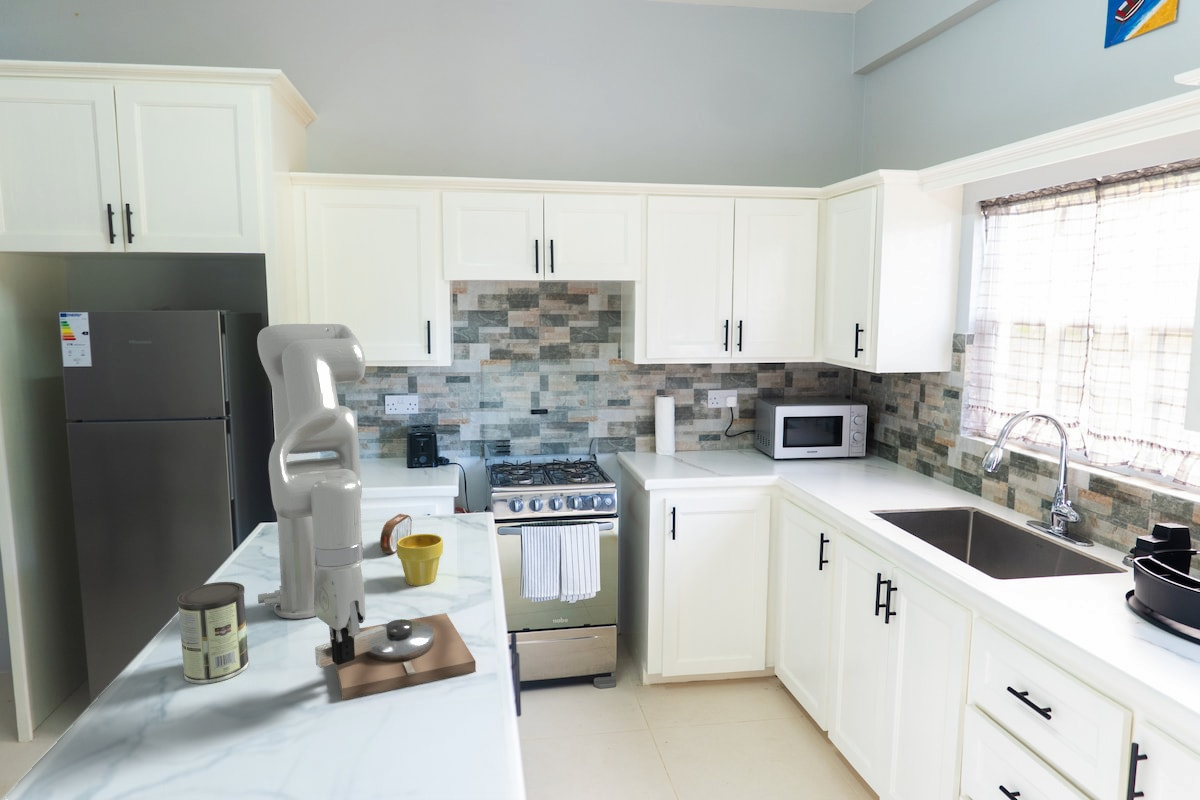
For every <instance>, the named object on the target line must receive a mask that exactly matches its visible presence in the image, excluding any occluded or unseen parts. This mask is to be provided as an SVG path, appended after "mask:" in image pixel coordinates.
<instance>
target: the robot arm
mask: <svg viewBox="0 0 1200 800" xmlns="http://www.w3.org/2000/svg"><path fill="white" fill-rule="evenodd" d="M256 340H257V341H256V343H257V344H256V345H257V351H258V352H257V353H258V356H259V358H260V361H261V365H262V366H263V369H264V371H265V373H266V375H267V377H268V379H269V382H270V385H271V389H272V397H273V412H274V413H273V415H274V429H275V430H274V431H275V440H274V442H273V444H272V446H271V450H270V452H269V456H268V457H269V458H268V475H269V476H268V477H269V485H270V493H271V494H270V495H271V500H272V505H273V508H274V511H275V513H276V519H277V521H276V522H277V535H278V536H277V537H278V552H279V553H278V555H279V568H280V570H279V571H280V572H279V573H280V585H279V588H278V590H274V592H270V593H269V592H268V593H267V592H266V593H258V594H257V604H259V605H260V604H264V607H266V606H272V605H274V607H273V610H274V613H275V615H276V616H278V617H280V618H283V619H293V620H294V619H307V618H312V617H316V618H318V619H319V620H320V621H321V622H324V624H326V625H327V626H328V628H329V637H330V636H331V638H334V639H331V645H332V661H333V662H334V665H335V664H337V665H340V664H343V663H346V662H349V661H352V660H354V659H355V648H354V638H355V635H358V634H360V629H359V628H360V624H363V623H364V622H365V620H366V595H365V588H364V587H365V585H364V580H363V579H364V578H363V573H362V572H363V571H362V565H361V563H362V562H363V561H364V558H363V557H364V555H363V552H364V550H363V534H362V533H363V530H362V514H361V513H362V511H361V499H362V495H363V494H362V492H363V491H362V482H361V481H362V480H361V479H362V477H361V460H360V458H361V457H360V446H359V445H360V443H359V442H360V441H359V430H358V422H357V419H356V416H355V413H354V412H353V410H352V409H351V408H350V407H348V406H345V405H339V404H340V403H339V397H338V391H337V387H336V384H345V383H348V384H349V383H357V382H360V381H361V380H362V379H363V378H364V376H365V374H366V373H365V372H366V365H367V364H366V356H365V353H364V352H365V351H364V350H363V347H362V345H361V343H360V340H359V339H358V338H357V337H356V335H355V334H354V333H353V332H352V330H351V329H350V328H349V327H348V326H347V325H344V324H340V323H286V324H285V323H283V324H282V323H281V324H274V325H269V326H265V327H264V328H262V329H261V330H260V331H259V333H258V335H257V339H256ZM323 452H333V453H335V454H336V456H329V457H319V458H318V457H317V458H305V459H298V460H297V459H295V460H290V461H287V459H288V455H289V454H290V455H299V454H312V453H314V454H315V453H323Z"/></svg>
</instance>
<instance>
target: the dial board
mask: <svg viewBox="0 0 1200 800" xmlns="http://www.w3.org/2000/svg"><path fill="white" fill-rule="evenodd" d="M408 620H409V621H417V622H422V623H425V624H427V625H429V626H431V627H432V629H433V634H434V644H433V646H432V648H431V649H430V650H429V651H427V652H426V653H424V654H422V655H420V656H418V657H415V658H412V659H408V660H403V661H392V662H389V661H379V660H375V659H372V658H370V657H369V656H368V655H367V654H366V652H365V653H362V654H359V655H356V656H355V659H354V660H352V661H349V662H346V663H343V664H340V665H337V664H335V663H334V666H335V670H336V675H337V680H338V681H337V682H338V685H339V688H340V694H341V698H342V699H341V700H342V701H345V700H350V699H355V698H359V697H363V696H364V697H365V696H369V695H373V694H378V693H381V692H386V691H391V690H396V689H401V688H406V687H411V686H415V685H420V684H424V683H430V682H433V681H439V680H443V679H446V678H447V679H448V678H452V677H457V676H460V675H461V676H463V675H466V674H470V673H476V672H477V671H476V670H477V667H476V664H477V663H476V659H475V658H474V656H473V655H472V653H471V652H470V650H469V648H468V646H467V645H466V643H465V642H464V640H463V638H462V636H461V635H460V633H459V632H458V630H457V629H456V627H455V626H454V624H453V622H452V621H451V619H450V618H449V616H448V614H447V613H446V612H444V613H439V614H434V615H427V616H422V617H417V618H416V617H415V618H410V619H408ZM388 623H389V622H388ZM388 623H386V624H388ZM384 624H385V623H384ZM384 624H377V625H372V626H371V625H370V626H366V627H359V629H360V632H363V631H366V630H369V629H372V628H375V627H378V626H381V625H384ZM329 639H330V642H331V639H334V638H331V636H330V635H329ZM330 642H329V643H330Z"/></svg>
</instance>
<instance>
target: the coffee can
mask: <svg viewBox="0 0 1200 800" xmlns="http://www.w3.org/2000/svg"><path fill="white" fill-rule="evenodd" d="M176 602H177V605H178V615H179V616H178V617H179V627H180V640H181V642H180V643H181V653H182V654H181V655H182V664H183V678H184V680H185V681H187V682H188V683H193V684H198V685H199V684H201V685H202V684H203V685H205V684H213V683H218V682H219V683H220V682H222V681H226V680H228V679H231V678H233V677H236V676H238V675H240V674H241V673H242V672H244V671H245V670H246V669H247V668H248V666H249V665H250V659H249V650H248V648H249V647H248V636H247V624H246V620H247V619H246V605H245V586H244V585H243V584H242V583H238V582H235V581H234V582H233V581H219V582H217V581H216V582H210V583H205V584H200V585H197V586H194V587H191V588H188V589H187V590H185V591H183V592H181V593H180V594H179V595H178V596H177V599H176Z"/></svg>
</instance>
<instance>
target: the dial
mask: <svg viewBox="0 0 1200 800" xmlns="http://www.w3.org/2000/svg"><path fill="white" fill-rule="evenodd" d="M409 620H410V619H394V620H391V621H390V622H388V624H387V623H384V625H381V624H380V625H381V626H378V627H375V628H372V629H369V630H366V631H363V632H360V634H358V635H355V638H354V648H355V656H356V655H359V654H362V653H365V652H366V654H367V655H368V656H369V657H370V658H372V659H375V660H379V661H389V662H392V661H403V660H408V659H412V658H415V657H418V656H420V655H422V654H424V653H426V652H427V651H429V650H430V649H431V648H432V646H433V644H434V634H433V629H432V627H431V626H429V625H427V624H425V623H422V622H417V621H409ZM314 650H315V665H316V666H317V667H318V668H320V669H322V668H324V667H328V666H331V665H335V663H334V662H333V661H332V645H331V642H327V643H324V644H321V645H318V646H315V649H314Z"/></svg>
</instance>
